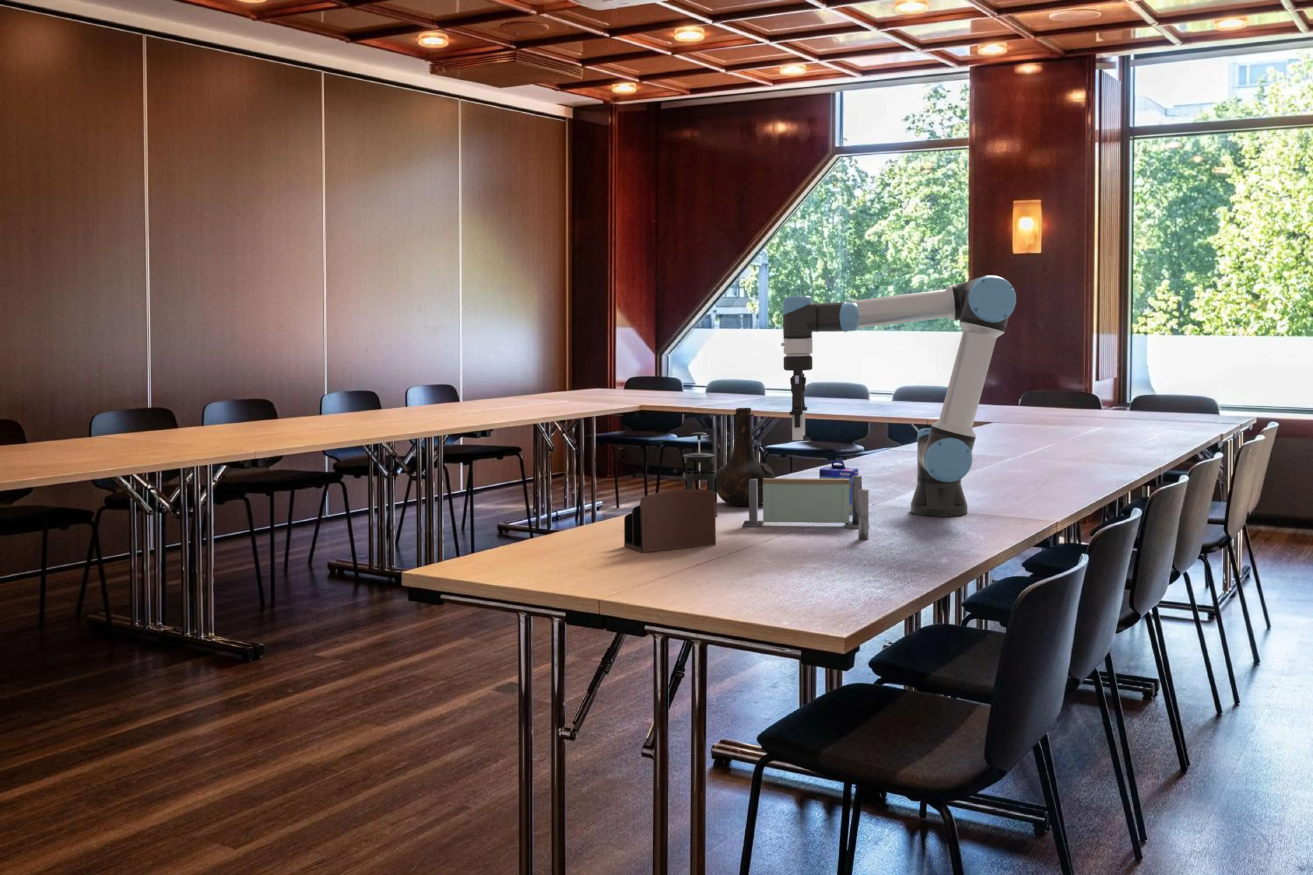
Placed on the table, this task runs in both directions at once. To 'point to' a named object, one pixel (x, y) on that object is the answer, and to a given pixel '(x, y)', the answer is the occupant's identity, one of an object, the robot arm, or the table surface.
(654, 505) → the letter holder
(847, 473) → the ink cartridge box
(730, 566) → the table surface
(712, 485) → the french press
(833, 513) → the gate
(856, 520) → the pair of grey posts
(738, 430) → the dark brown vase
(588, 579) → the table surface
